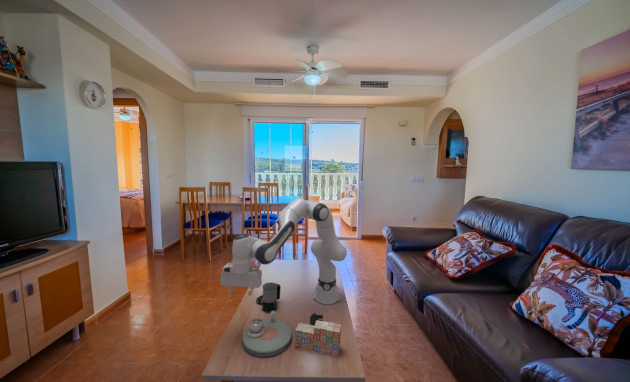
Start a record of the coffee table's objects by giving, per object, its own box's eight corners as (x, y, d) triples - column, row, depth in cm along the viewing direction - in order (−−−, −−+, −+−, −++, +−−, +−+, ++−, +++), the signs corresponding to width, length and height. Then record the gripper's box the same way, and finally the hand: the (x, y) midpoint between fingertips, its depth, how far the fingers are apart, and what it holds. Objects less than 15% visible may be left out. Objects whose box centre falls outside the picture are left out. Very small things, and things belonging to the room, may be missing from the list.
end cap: (309, 324, 143) (310, 312, 142) (322, 324, 143) (322, 312, 142) (310, 336, 133) (310, 323, 132) (323, 336, 133) (324, 323, 132)
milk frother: (274, 314, 151) (274, 290, 149) (249, 310, 154) (249, 286, 153) (281, 301, 165) (282, 279, 163) (259, 298, 168) (259, 277, 166)
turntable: (252, 320, 141) (252, 308, 141) (294, 323, 139) (295, 312, 139) (234, 350, 118) (235, 337, 117) (286, 355, 116) (286, 342, 115)
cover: (250, 326, 134) (250, 315, 133) (267, 327, 133) (267, 316, 132) (244, 337, 125) (244, 325, 124) (262, 338, 124) (262, 327, 124)
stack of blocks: (294, 348, 123) (295, 324, 122) (298, 339, 130) (298, 316, 128) (338, 356, 119) (339, 332, 118) (340, 347, 125) (341, 323, 124)
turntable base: (251, 322, 142) (251, 319, 142) (295, 326, 140) (295, 323, 140) (233, 355, 117) (233, 352, 117) (286, 360, 115) (287, 357, 115)
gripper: (263, 266, 128) (263, 292, 129) (224, 263, 130) (224, 289, 131) (260, 271, 122) (259, 299, 123) (218, 268, 124) (218, 295, 125)
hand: (240, 294), depth 127 cm, fingers open, 8 cm apart
